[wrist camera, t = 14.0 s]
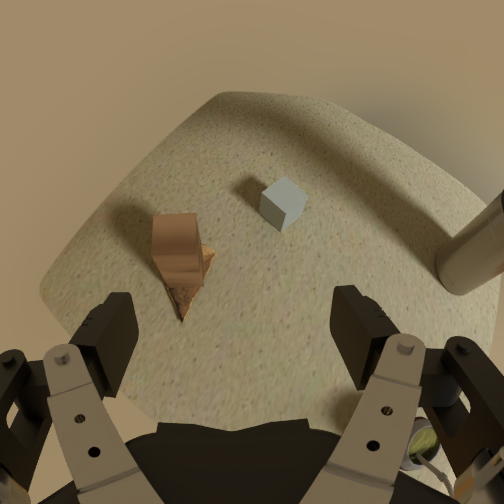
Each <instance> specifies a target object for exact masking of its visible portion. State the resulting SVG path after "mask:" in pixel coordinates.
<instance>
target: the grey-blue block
mask: <svg viewBox="0 0 504 504" xmlns="http://www.w3.org/2000/svg"><path fill="white" fill-rule="evenodd" d="M307 198H308V195H307V194H306V193H305V192H304V191H302V190H301V189H300V188H299V187H297V186H296V185H295V184H294V183H293V182H291V181H290V180H289V179H288V178H286V177H285V176H283V177H282V178H281V179H279V180H278V181H276V182H275V183H274V184H272V185H271V186H270V187H268V188H267V189H266V190H264V191H263V192H262V193H261V200H260V207H259V213H260V214H261V215H262V216H263V217H264V218H266V219H267V220H268V221H269V222H270V223H271V224H272V225H273V226H274V227H276V228H277V229H278V230H279V231H280V232H282V231H283V230H284V229H285V228H287V227H288V226H289V225H290V224H291V223H292V222H294V221H295V220H296V219H297V218H298V217H299V216H301V214H302V212H303V209H304V206H305V203H306V201H307Z"/></svg>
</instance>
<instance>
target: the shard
mask: <svg viewBox="0 0 504 504" xmlns="http://www.w3.org/2000/svg"><path fill="white" fill-rule="evenodd" d="M201 246H202V252H203V281H204V279H205V277H206V274H207V272H208V271H209V269H210V267H211V265H212V261H213V259H214V256H215V255H216V251H215V250H214V249H212V248H210V247H207V246H206V245H204V244H201ZM165 284H166V286H167V289H168V292H169V294H170V297H171V299H172V301H173V303H174V304H175V307H176V309H177V312H178V316H179V318H180V321H181V322H182V323H183V321H184V320H185V318H186V316H187V313H188V311H189V308H190V305H191V304H192V301H193V299H194V297H195V295H196V293H197V292H198V291H199V289H200V287H201V286H200V287H173V288H169V287H168V285H167V283H166V282H165Z"/></svg>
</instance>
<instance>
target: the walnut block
mask: <svg viewBox="0 0 504 504" xmlns="http://www.w3.org/2000/svg"><path fill="white" fill-rule="evenodd" d="M150 254H151V256H152V258H153V260H154V262H155V264H156V265H157V267H158V269H159V271H160V273H161V275H162V276H163V278H164V280H165V282H166V283H167V285H168V287H169V288H173V287H200V286H204V282H203V252H202V246H201V240H200V235H199V229H198V223H197V217H196V213H183V214H166V215H154V217H153V228H152V240H151V253H150Z"/></svg>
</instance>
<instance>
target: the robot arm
mask: <svg viewBox="0 0 504 504" xmlns="http://www.w3.org/2000/svg"><path fill="white" fill-rule="evenodd" d="M435 265H436V271H437V274H438V277H439V279H440V281H441V283H442V284H443V286H444V287H445V288H446V289H447V290H448V291H450V292H451V293H453V294H455V295H459V296H460V295H465V294H467V293H469V292H470V291H472V290H474V289H476V288H477V287H479V286H481V285H483V284H484V283H486V282H488V281H489V280H491V279H493V278H494V277H496V276H498V275H499V274H501V273H502V272H504V190H503V191H502V192H501V193H500V194H499V195H498V196H497V197H496V198H495V199H494V200H493V201H492V202H491V203H490V204H489V205H488V206H487V207H486V208H485V209H484V210H483V211H482V212H481V213H480V214H479V215H478V216H476V217H475V218H474V219H473V220H472V221H471V222H470V223H469V224H468V225H467V226H465V227H464V228H463V229H462V230H461V231H460V232H459V233H458V234H456V235H455V236H454V237H453V238H452V239H451V240H449V241H448V242H447V243H446V244H445V245H444V246H442V247H441V248H440V249H439V250H438V252H437V255H436V261H435ZM330 332H331V335H332V337H333V339H334V341H335V343H336V346H337V348H338V350H339V352H340V354H341V356H342V358H343V360H344V363H345V365H346V367H347V369H348V371H349V373H350V376H351V378H352V380H353V382H354V384H355V387H356V389H357V391H359V390H364V393H363V395H362V397H361V399H360V401H359V403H358V405H357V407H356V410H355V412H354V414H353V416H352V418H351V420H350V422H349V424H348V426H347V427H346V429H345V431H344V433H343V435H342V436H340V435H337V434H335V433H332V432H328V431H324V430H319V429H311V428H310V427H309V423H308V419H307V418H306V419H297V420H288V421H277V422H269V423H265V424H262V425H258V426H254V427H250V428H246V429H242V430H238V431H225V430H220V429H215V428H210V427H205V426H200V425H196V424H180V423H162V422H158V426H157V431H156V433H150V434H146V435H142V436H139V437H137V438H134V439H132V440H130V441H128V442H126V443H124V442H123V441H122V439H121V437H120V435H119V433H118V432H117V430H116V428H115V426H114V424H113V422H112V420H111V419H110V417H109V415H108V413H107V411H106V409H105V407H104V405H103V403H102V400H103V398H104V396H105V397H113V398H116V395H117V392H118V390H119V387H120V384H121V382H122V379H123V376H124V374H125V371H126V368H127V366H128V363H129V361H130V358H131V356H132V353H133V351H134V348H135V346H136V343H137V341H138V335H139V330H138V323H137V319H136V315H135V310H134V306H133V301H132V297H131V294H130V293H129V292H111V293H110V294H109V296H108V297H107V299H106V300H105V302H104V303H103V304H99V305H98V306H97V307H95V308H94V309H92V310H91V311H90V313H89V314H88V315H87V317H86V319H85V320H84V321H83V322H82V324H81V326H80V327H79V328H78V330H77V331H76V333H75V334H74V336H73V337H72V338H71V340H70V342H69V343H68V344H61V345H57V346H55V347H53V348H52V349H50V350H49V351H48V352H47V353H46V354H45V356H44V358H43V360H39V361H29V362H27V359H26V358H25V356H24V353H23V352H22V351H20V350H17V349H13V350H8V351H6V352H4V353H2V354H0V504H31V500H30V497H29V494H28V491H29V487H30V484H31V481H32V478H33V474H34V471H35V468H36V465H37V462H38V460H39V457H40V454H41V451H42V448H43V445H44V443H45V440H46V437H47V435H48V432H49V430H50V427H51V424H52V422H53V423H54V426H55V430H56V433H57V437H58V440H59V443H60V446H61V448H62V451H63V454H64V457H65V460H66V462H67V465H68V468H69V470H70V473H71V475H72V477H73V481H71V482H70V483H68V484H67V485H65V486H64V487H62V488H61V489H59V490H58V491H56V492H55V493H53V494H52V495H50V496H49V497H47V498H46V499H44V500H43V501H41V502H39V503H38V504H504V376H503V375H502V374H501V372H500V371H499V370H498V369H497V367H496V366H495V365H494V364H493V362H492V361H491V360H490V359H489V358H488V357H487V355H486V354H485V353H484V352H483V351H482V349H481V348H480V347H479V346H478V345H477V344H476V343H475V342H474V341H472V340H471V339H469V338H466V337H462V336H454V337H451V338H449V339H448V340H447V342H446V345H445V347H444V349H431V348H426V347H425V345H424V343H423V342H422V341H421V340H420V339H419V338H417V337H415V336H413V335H410V334H403V333H400V331H399V330H398V329H397V327H396V326H395V325H394V324H393V322H392V321H391V320H390V319H389V317H388V316H387V315H386V313H385V312H384V311H382V308H381V307H380V306H379V305H378V303H377V302H376V301H374V300H372V299H371V298H369V297H367V296H362V294H361V293H360V292H359V290H358V289H357V288H356V287H355V286H354V285H346V286H336V287H335V288H334V292H333V299H332V307H331V315H330ZM462 391H463V392H464V394H465V395H466V397H467V398H468V400H469V402H470V407H471V409H470V414H469V412H468V411H467V409H466V407H465V406H464V404H463V403H462V401H461V399H460V398H459V395H460V394H461V392H462ZM13 402H14V403H15V404H16V406H17V407H18V409H19V410H18V413H17V414H16V416H15V419H14V421H13V423H12V425H11V427H10V429H9V428H8V425H7V421H6V417H7V414H8V412H9V410H10V407H11V406H12V404H13ZM418 407H422V408H423V410H424V411H425V413H426V415H427V417H428V419H429V421H430V423H431V425H432V427H433V429H434V431H435V433H436V435H437V437H438V439H439V442H440V444H441V446H442V448H443V450H444V452H445V454H446V456H447V458H448V461H449V463H450V465H451V467H452V469H453V472H454V474H455V476H456V478H457V479H456V481H455V484H454V496H453V498H452V497H450V496H447V495H445V494H443V493H441V492H439V491H437V490H435V489H433V488H431V487H429V486H427V485H425V484H423V483H421V482H420V481H418V480H416V479H414V478H412V477H410V476H408V475H407V474H405V473H403V472H401V471H399V468H400V465H401V462H402V459H403V456H404V453H405V450H406V447H407V444H408V441H409V437H410V434H411V430H412V427H413V423H414V419H415V416H416V412H417V408H418Z"/></svg>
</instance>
